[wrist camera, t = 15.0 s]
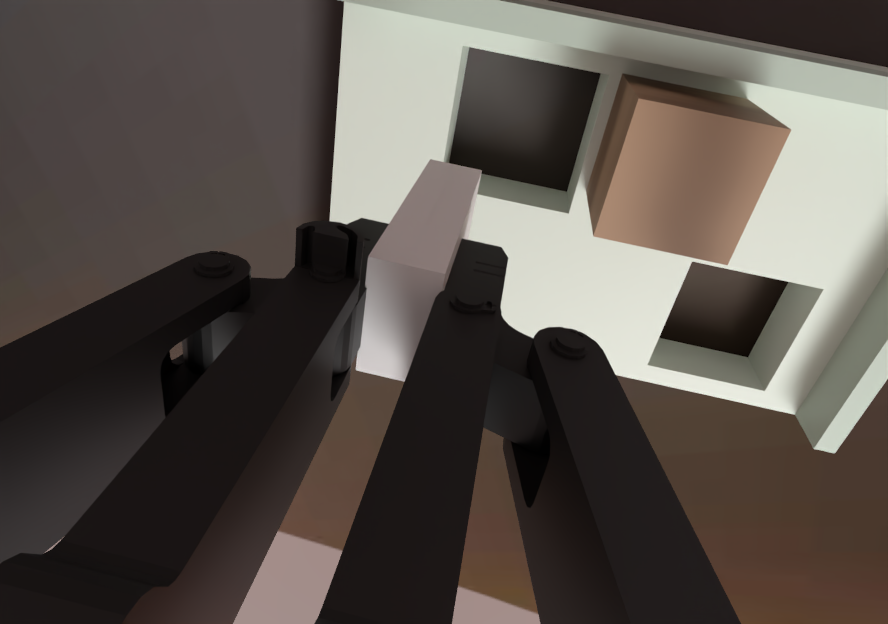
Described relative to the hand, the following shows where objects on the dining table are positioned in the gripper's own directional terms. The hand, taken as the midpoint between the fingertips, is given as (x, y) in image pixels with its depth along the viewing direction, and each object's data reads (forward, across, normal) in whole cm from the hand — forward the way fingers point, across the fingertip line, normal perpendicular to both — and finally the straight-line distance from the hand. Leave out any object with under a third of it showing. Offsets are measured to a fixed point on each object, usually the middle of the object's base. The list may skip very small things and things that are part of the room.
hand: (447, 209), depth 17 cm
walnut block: (+10, +8, +1) cm, 12 cm away
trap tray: (+13, +6, -3) cm, 15 cm away
